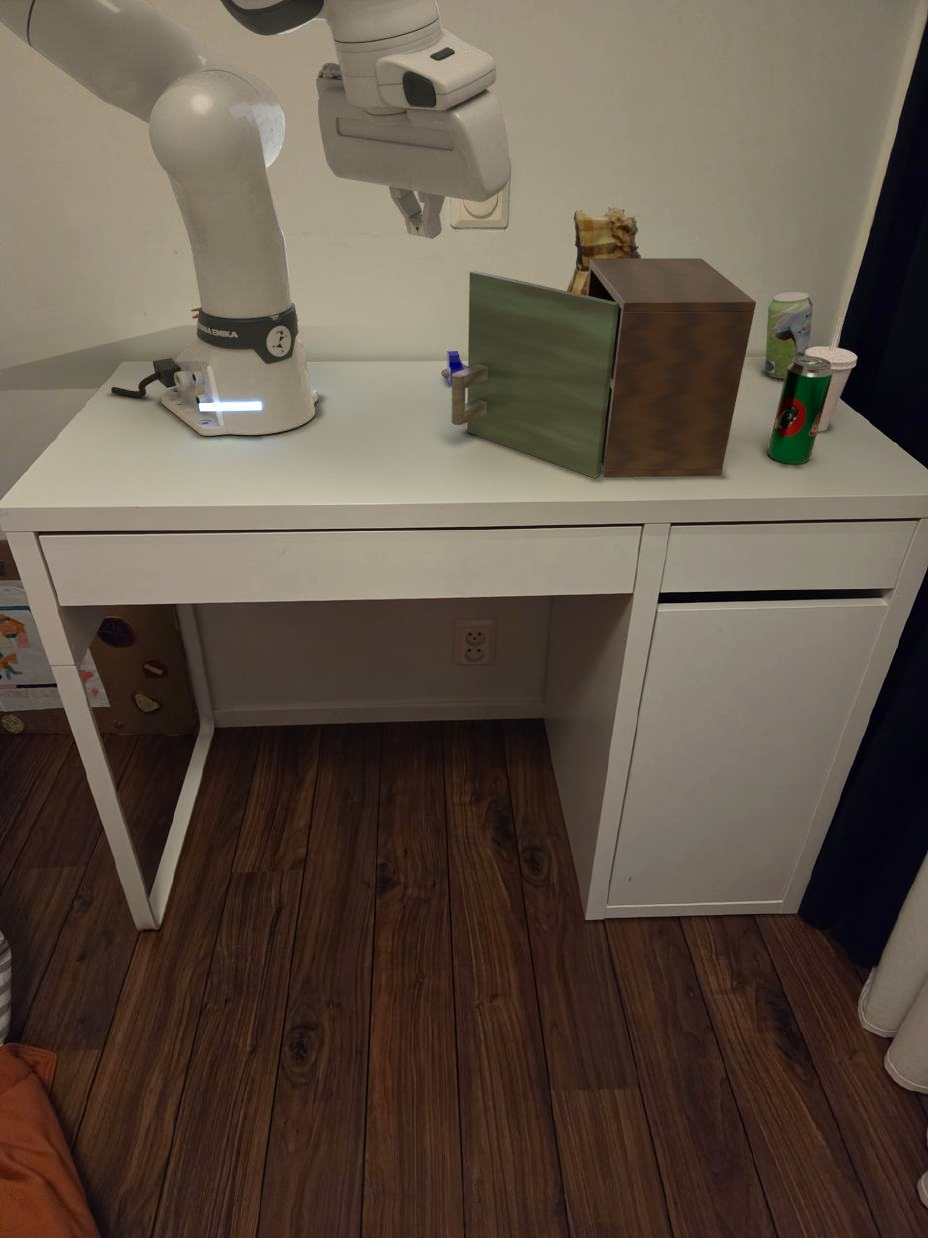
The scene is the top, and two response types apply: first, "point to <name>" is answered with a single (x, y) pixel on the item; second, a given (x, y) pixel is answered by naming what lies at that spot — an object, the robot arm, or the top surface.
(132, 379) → the top surface
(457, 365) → the cable holder
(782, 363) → the beverage can
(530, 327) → the door
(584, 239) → the plaid cloth bag
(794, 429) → the soda can
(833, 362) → the smoothie
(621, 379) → the cupboard
